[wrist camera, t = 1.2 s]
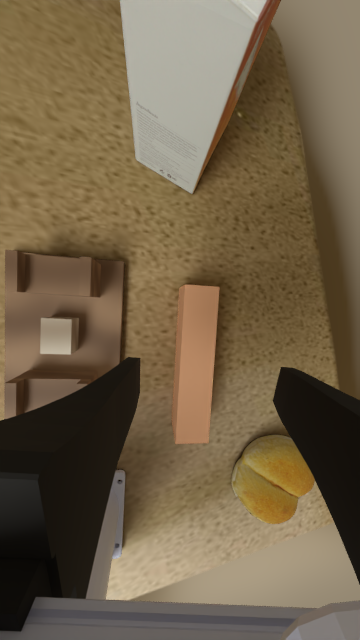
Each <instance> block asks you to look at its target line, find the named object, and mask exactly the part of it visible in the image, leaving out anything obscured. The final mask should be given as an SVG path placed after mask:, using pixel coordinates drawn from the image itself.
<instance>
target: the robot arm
mask: <svg viewBox="0 0 360 640" xmlns="http://www.w3.org/2000/svg"><path fill="white" fill-rule="evenodd" d="M139 394H140V358H132V357H128V358H126V359H125V360H124V361H122V362H121V363H119V364H118V365H117V366H115V367H114V368H113V369H111V370H110V371H108V372H107V373H105V374H104V375H102V376H101V377H99V378H98V379H96V380H94V381H93V382H91V383H90V384H88V385H86V386H85V387H83V388H81V389H79V390H77V391H75V392H73V393H71V394H69V395H67V396H65V397H63V398H61V399H58V400H56V401H54V402H51V403H49V404H47V405H44V406H42V407H39V408H37V409H34V410H31V411H28V412H26V413H23V414H20V415H17V416H14V417H11V418H8V419H4V420H1V421H0V640H360V601H350V602H340V603H331V604H328V605H326V606H323V607H321V608H296V607H295V608H294V607H272V606H271V607H270V606H247V605H246V606H245V605H220V604H198V603H172V602H148V601H147V602H146V601H124V600H106V593H107V587H108V581H109V574H110V568H111V561H112V559H116V558H119V557H120V556H121V554H122V538H123V516H124V494H125V472H124V471H123V470H116V467H117V464H118V460H119V457H120V454H121V451H122V448H123V446H124V443H125V440H126V437H127V434H128V431H129V429H130V426H131V423H132V420H133V417H134V414H135V411H136V407H137V403H138V398H139ZM273 402H274V405H275V407H276V410H277V412H278V415H279V417H280V419H281V421H282V423H283V425H284V426H285V428H286V430H287V431H288V433H289V435H290V437H291V438H292V440H293V442H294V443H295V445H296V447H297V448H298V450H299V452H300V454H301V455H302V457H303V459H304V460H305V462H306V464H307V466H308V467H309V469H310V471H311V473H312V475H313V477H314V479H315V481H316V483H317V485H318V487H319V489H320V491H321V494H322V496H323V498H324V500H325V502H326V504H327V507H328V509H329V511H330V513H331V516H332V518H333V520H334V522H335V525H336V527H337V529H338V531H339V534H340V536H341V539H342V541H343V543H344V546H345V549H346V551H347V554H348V556H349V558H350V561H351V563H352V565H353V568H354V571H355V573H356V576H357V579H358V581H359V584H360V400H358V399H356V398H354V397H352V396H349V395H347V394H345V393H343V392H341V391H339V390H337V389H335V388H333V387H332V386H330V385H328V384H326V383H324V382H322V381H320V380H318V379H316V378H314V377H312V376H310V375H308V374H306V373H304V372H302V371H300V370H297V369H295V368H287V367H281V369H280V373H279V378H278V382H277V386H276V390H275V394H274V398H273ZM118 480H122V481H118ZM116 543H118V544H116Z"/></svg>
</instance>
